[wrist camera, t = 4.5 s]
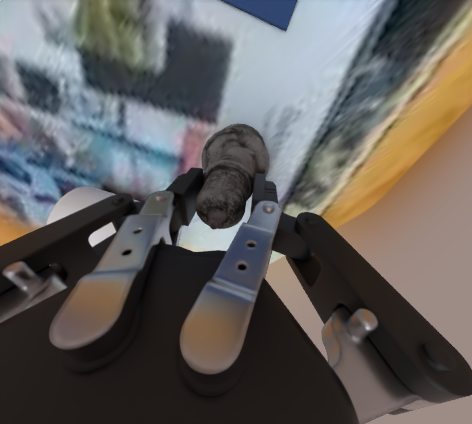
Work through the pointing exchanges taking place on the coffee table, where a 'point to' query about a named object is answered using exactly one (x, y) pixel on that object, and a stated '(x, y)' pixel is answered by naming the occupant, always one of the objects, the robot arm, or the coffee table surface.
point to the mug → (81, 200)
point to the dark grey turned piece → (230, 174)
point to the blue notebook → (267, 10)
